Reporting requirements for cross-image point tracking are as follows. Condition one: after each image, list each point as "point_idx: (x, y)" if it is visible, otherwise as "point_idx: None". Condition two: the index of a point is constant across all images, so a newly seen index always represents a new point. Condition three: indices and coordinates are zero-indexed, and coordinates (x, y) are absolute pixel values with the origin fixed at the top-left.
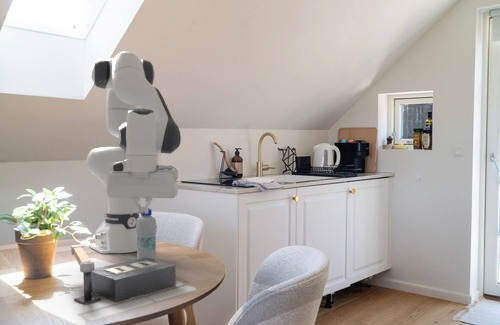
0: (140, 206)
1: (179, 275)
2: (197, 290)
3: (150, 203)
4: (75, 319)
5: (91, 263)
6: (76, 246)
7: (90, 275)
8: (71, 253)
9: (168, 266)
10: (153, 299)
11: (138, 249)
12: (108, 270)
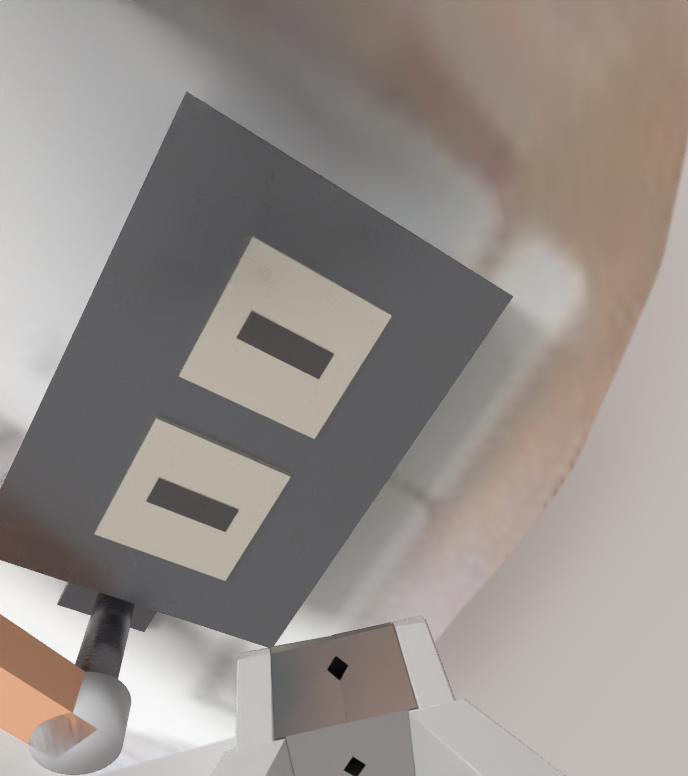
0: (285, 753)
1: (422, 9)
2: (596, 314)
3: (537, 770)
4: (218, 734)
5: (111, 743)
6: None
7: (117, 678)
8: None
9: (471, 335)
10: (417, 489)
11: None
12: (132, 544)
